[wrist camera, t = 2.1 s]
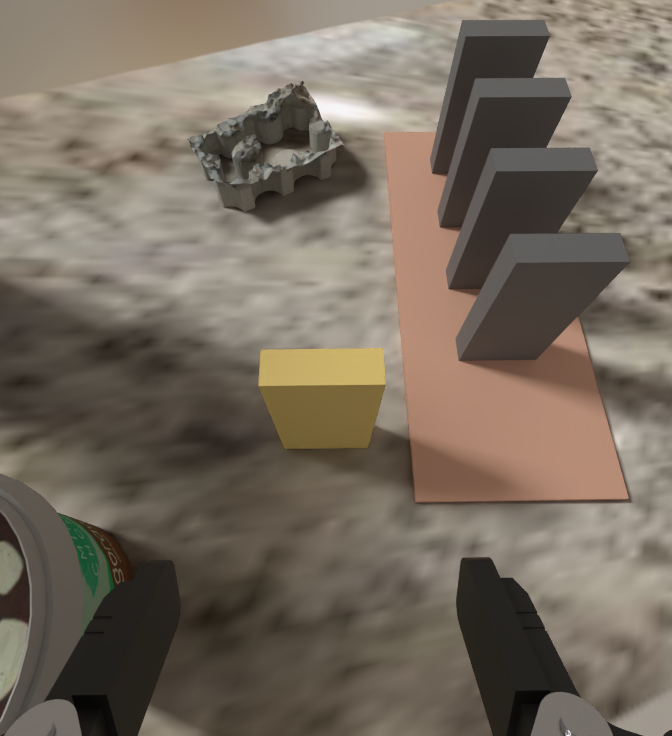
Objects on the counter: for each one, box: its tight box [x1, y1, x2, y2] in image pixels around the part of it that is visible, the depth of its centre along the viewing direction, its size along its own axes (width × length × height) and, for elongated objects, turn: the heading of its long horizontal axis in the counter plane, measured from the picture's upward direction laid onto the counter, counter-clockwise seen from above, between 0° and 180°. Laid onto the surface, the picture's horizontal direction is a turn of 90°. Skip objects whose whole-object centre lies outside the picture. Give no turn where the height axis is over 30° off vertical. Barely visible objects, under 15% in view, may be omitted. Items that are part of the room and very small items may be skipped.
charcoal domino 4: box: [455, 233, 630, 361], centre depth 24 cm, size 2×5×10 cm, turn 91°
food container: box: [0, 474, 133, 735], centre depth 19 cm, size 12×6×10 cm, turn 57°
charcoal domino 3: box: [446, 148, 598, 289], centre depth 27 cm, size 2×5×10 cm, turn 91°
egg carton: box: [188, 81, 344, 212], centre depth 35 cm, size 11×8×4 cm
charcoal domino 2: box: [437, 78, 571, 227], centre depth 29 cm, size 2×5×10 cm, turn 91°
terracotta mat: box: [384, 132, 629, 503], centre depth 31 cm, size 30×12×1 cm, turn 1°
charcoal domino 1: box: [430, 20, 550, 174], centre depth 31 cm, size 2×5×10 cm, turn 91°
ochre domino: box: [258, 348, 386, 449], centre depth 22 cm, size 2×5×10 cm, turn 91°
